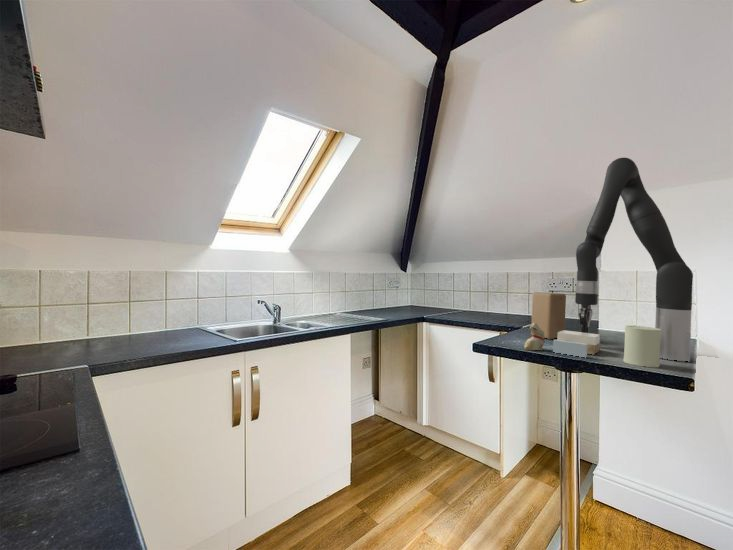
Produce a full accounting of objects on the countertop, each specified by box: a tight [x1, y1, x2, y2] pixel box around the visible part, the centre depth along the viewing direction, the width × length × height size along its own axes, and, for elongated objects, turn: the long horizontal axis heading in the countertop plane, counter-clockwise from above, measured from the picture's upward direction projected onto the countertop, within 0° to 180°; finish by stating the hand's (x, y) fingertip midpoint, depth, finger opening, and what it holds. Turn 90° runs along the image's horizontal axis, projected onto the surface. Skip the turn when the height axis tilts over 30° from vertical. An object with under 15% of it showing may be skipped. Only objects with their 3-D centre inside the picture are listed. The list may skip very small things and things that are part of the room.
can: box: [622, 325, 661, 368], centre depth 111 cm, size 9×9×12 cm
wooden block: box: [530, 291, 567, 340], centre depth 156 cm, size 10×10×20 cm
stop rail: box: [552, 339, 588, 359], centre depth 119 cm, size 10×2×4 cm, turn 48°
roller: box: [587, 345, 595, 356], centre depth 125 cm, size 12×3×3 cm, turn 48°
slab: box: [556, 329, 601, 346], centre depth 129 cm, size 12×9×3 cm
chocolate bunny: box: [523, 323, 545, 351], centre depth 127 cm, size 6×8×10 cm
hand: (584, 335), depth 138 cm, fingers closed
